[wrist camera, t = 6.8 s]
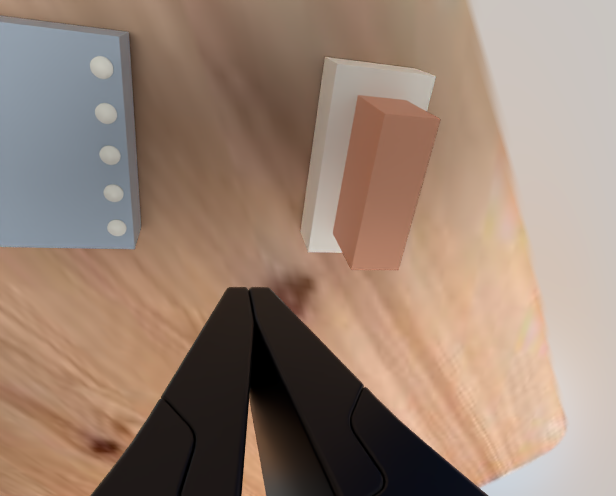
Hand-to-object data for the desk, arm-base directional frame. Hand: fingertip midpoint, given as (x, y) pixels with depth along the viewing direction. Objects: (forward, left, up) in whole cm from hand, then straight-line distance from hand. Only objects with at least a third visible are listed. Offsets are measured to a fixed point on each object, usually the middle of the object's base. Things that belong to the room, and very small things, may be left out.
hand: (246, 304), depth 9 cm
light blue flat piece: (0, +9, -11) cm, 14 cm away
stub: (0, -6, -11) cm, 13 cm away
